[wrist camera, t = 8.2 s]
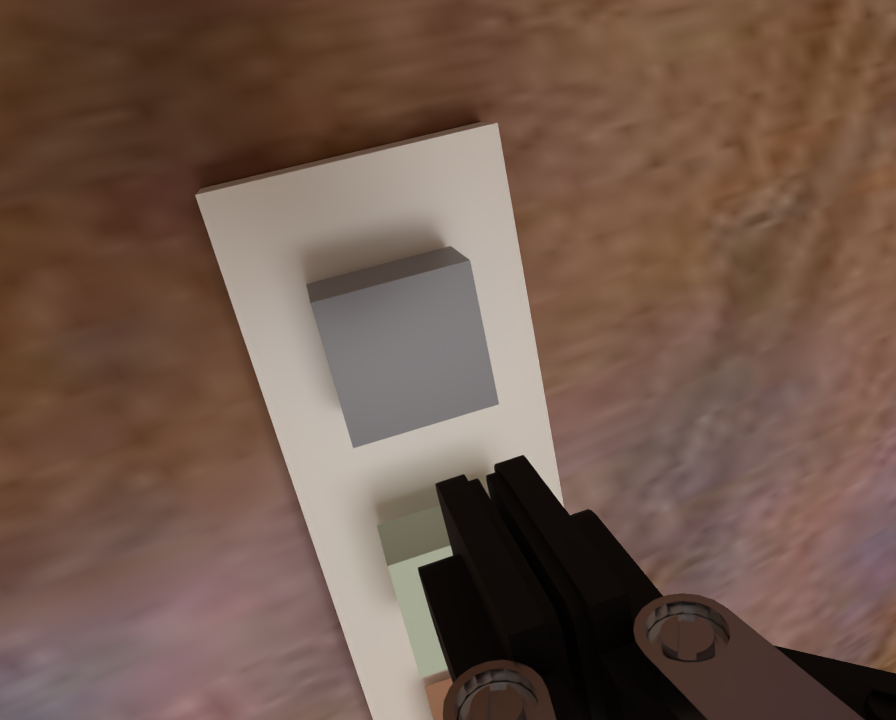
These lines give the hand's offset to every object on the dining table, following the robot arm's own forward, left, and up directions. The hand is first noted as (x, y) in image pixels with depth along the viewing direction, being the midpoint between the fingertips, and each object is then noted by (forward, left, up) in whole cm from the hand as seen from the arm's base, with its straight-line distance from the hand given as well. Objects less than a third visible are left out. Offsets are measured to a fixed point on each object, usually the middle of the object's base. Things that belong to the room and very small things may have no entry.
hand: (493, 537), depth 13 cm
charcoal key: (0, 0, -13) cm, 13 cm away
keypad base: (+9, 0, -15) cm, 18 cm away
